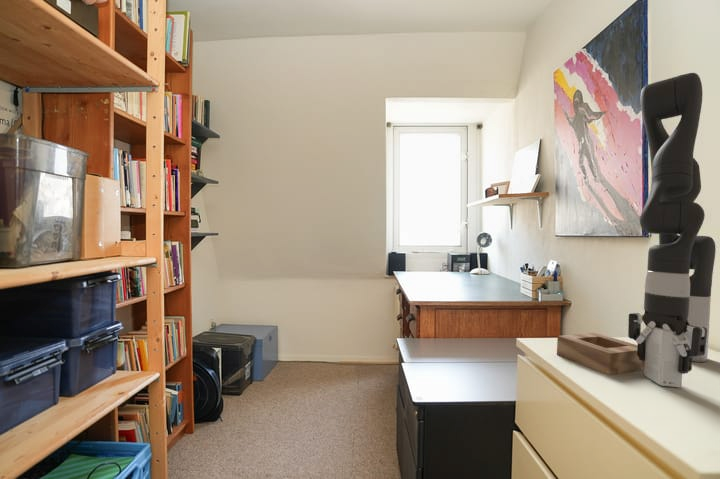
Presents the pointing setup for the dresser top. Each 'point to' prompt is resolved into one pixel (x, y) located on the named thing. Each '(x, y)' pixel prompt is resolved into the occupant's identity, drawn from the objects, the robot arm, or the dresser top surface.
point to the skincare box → (662, 358)
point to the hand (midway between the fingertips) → (662, 366)
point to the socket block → (600, 352)
